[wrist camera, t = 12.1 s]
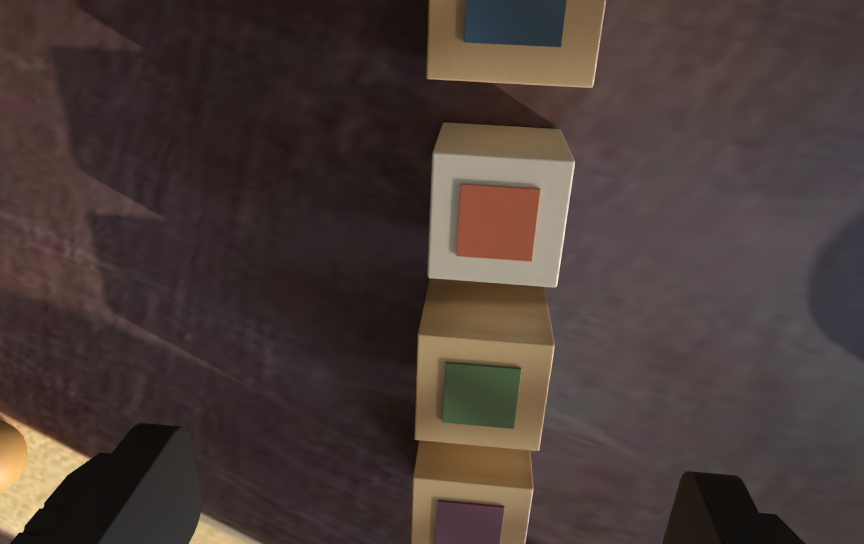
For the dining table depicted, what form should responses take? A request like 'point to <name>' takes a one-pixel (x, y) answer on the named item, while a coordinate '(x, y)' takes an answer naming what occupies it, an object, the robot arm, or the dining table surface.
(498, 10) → the block row
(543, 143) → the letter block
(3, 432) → the figurine
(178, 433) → the robot arm
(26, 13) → the dining table surface
